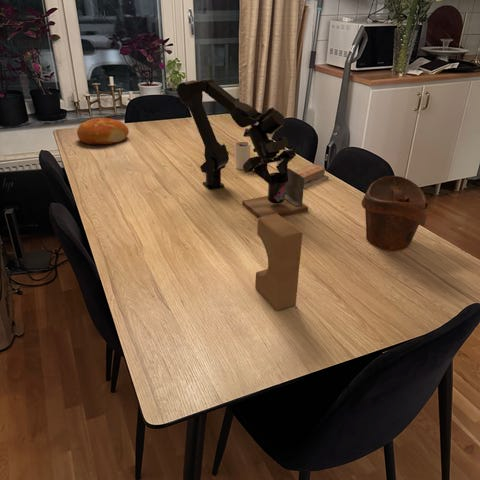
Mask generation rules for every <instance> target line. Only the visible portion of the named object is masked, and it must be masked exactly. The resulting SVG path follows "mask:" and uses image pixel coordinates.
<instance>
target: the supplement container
mask: <svg viewBox="0 0 480 480" xmlns="http://www.w3.org/2000/svg"><path fill="white" fill-rule="evenodd" d="M269 174H270V176H271V178H272V181H273V184H274V185H273V186H271V185H270V184H268V186H267V187H268V188H267V196H268V201H269V202H271V203H276V204H278V203H282V202H284V200H285V189H286V177H287V176H286V174H284V173H279V171H278V172H269Z"/></svg>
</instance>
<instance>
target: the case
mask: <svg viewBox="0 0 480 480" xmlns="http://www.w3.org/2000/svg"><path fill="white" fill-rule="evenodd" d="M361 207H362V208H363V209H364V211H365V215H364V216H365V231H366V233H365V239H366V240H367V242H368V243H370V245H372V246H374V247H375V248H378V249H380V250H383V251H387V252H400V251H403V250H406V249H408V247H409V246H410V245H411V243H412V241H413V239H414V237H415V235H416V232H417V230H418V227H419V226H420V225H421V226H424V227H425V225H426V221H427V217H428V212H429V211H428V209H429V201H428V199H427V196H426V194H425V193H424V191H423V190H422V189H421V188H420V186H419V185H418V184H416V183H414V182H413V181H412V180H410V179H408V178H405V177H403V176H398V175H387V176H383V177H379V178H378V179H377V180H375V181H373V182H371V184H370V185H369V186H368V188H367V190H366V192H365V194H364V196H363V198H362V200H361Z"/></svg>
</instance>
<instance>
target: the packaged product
mask: <svg viewBox="0 0 480 480" xmlns="http://www.w3.org/2000/svg"><path fill="white" fill-rule="evenodd" d="M293 171H294V172H296V173H297V174H299V175H301V176H302V177H304V178H305V179H304V189H306V188H307V187H310V186H312V185H315V184H318V183H320V182H323V181H325V180H328V179H329V178H330V176H328V175H326V169H325V167H323V166H321V165H317V164H315V163H314V164H313V163H312V164H309V165H306V166H304V167H301V168H298V169H296V170H293Z"/></svg>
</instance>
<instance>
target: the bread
mask: <svg viewBox="0 0 480 480" xmlns="http://www.w3.org/2000/svg"><path fill="white" fill-rule="evenodd" d="M129 131H130V130H129V127H128V126H127V125H126V124H125V123H124V122H122V121H121V120H116V119H113V118H109V117H108V118H107V117H95V118H92V119H91V118H90V119H89V120H86V121H84V122H82V123H80V125H79V126H78V127H77V130H76V132H77V133H76V135H77V137H78V139H79V140H80V141H81V143H84V144H87V145H113V144H117V143H120V142H122V141H124V140H126V138H127V137H128V136H129Z"/></svg>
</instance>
